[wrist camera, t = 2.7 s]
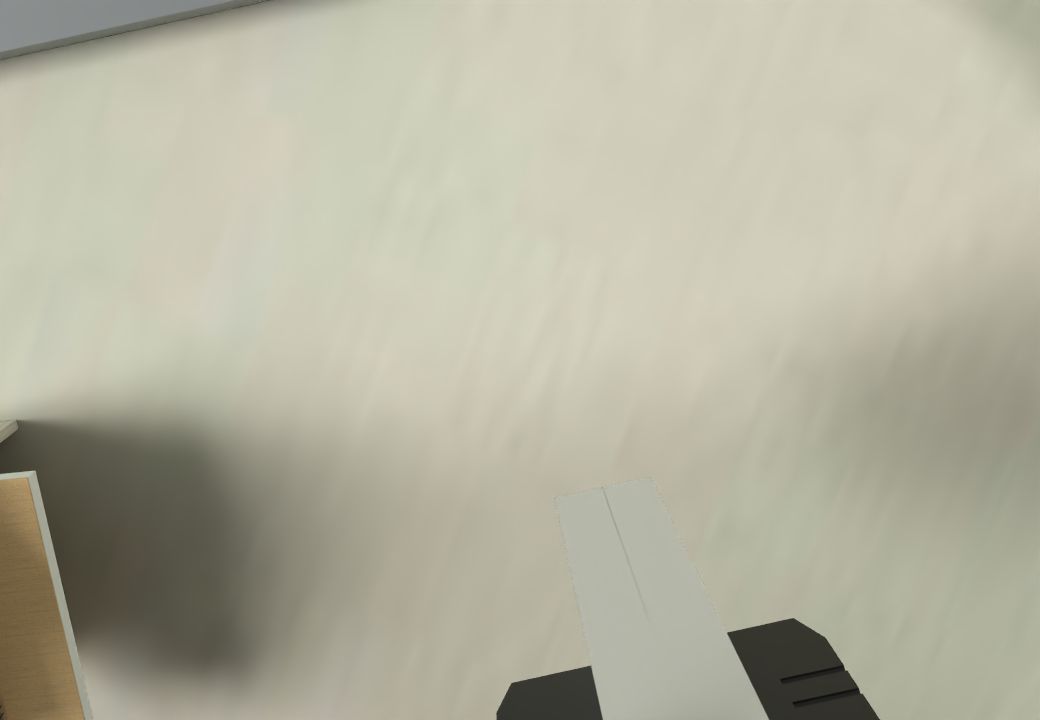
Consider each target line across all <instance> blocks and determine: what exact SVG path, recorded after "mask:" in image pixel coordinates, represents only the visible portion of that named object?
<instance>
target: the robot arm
mask: <svg viewBox="0 0 1040 720" xmlns="http://www.w3.org/2000/svg"><path fill="white" fill-rule="evenodd" d="M554 500H555V504H556V509H557V514H558V518H559V523H560V527H561V532H562V536H563V541H564V545H565V550H566V554H567V559H568V563H569V568H570V572H571V577H572V581H573V586H574V591H575V595H576V600H577V604H578V609H579V613H580V618H581V622H582V627H583V631H584V636H585V640H586V645H587V649H588V654H589V659H590V663H591V666H587V667H583V668H578V669H574V670H569V671H564V672H560V673H555V674H551V675H546V676H542V677H537V678H533V679H528V680H523V681H519V682H514V683H511V685H510V687H509V689H508V691H507V693H506V695H505V697H504V699H503V701H502V703H501V705H500V707H499V709H498V711H497V713H496V715H497V720H880V719H879V718H878V716H877V715H876V713H875V712H874V710H873V709H872V707H871V706H870V704H869V703H868V701H867V700H866V698H865V697H864V695H863V694H860V691H859V688H858V686H857V685H856V683H855V682H854V680H853V679H852V677H851V676H850V674H849V673H848V671H845V669H844V665H843V663H842V662H841V660H840V659H839V657H838V656H837V654H836V653H835V651H834V650H833V648H832V647H831V645H830V644H829V642H828V641H827V639H826V638H825V637H823V636H822V635H820V634H818V633H817V632H815V631H814V630H812V629H810V628H809V627H807V626H805V625H804V624H802V623H800V622H799V621H797V620H796V619H794V618H792V619H787V620H783V621H778V622H774V623H769V624H765V625H760V626H755V627H751V628H746V629H742V630H737V631H733V632H728V633H727V632H726V630H725V628H724V626H723V624H722V622H721V620H720V618H719V616H718V614H717V612H716V610H715V608H714V606H713V603H712V601H711V599H710V597H709V595H708V593H707V591H706V589H705V587H704V585H703V583H702V581H701V579H700V577H699V575H698V573H697V571H696V568H695V566H694V564H693V562H692V560H691V558H690V556H689V554H688V552H687V550H686V548H685V546H684V544H683V542H682V540H681V538H680V536H679V534H678V531H677V529H676V527H675V525H674V523H673V521H672V519H671V517H670V515H669V513H668V511H667V509H666V507H665V505H664V503H663V501H662V499H661V497H660V494H659V492H658V490H657V488H656V486H655V484H654V482H653V480H652V478H651V477H646V478H642V479H637V480H633V481H628V482H624V483H619V484H615V485H610V486H606V487H601V488H597V489H592V490H587V491H583V492H578V493H574V494H569V495H565V496H560V497H556V498H554Z"/></svg>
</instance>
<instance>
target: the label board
mask: <svg viewBox="0 0 1040 720" xmlns="http://www.w3.org/2000/svg"><path fill="white" fill-rule="evenodd" d="M264 1H269V0H0V60H1V59H6V58H11V57H15V56H20V55H24V54H29V53H33V52H38V51H42V50H47V49H51V48H56V47H60V46H65V45H69V44H74V43H79V42H83V41H88V40H92V39H97V38H101V37H106V36H110V35H115V34H119V33H124V32H128V31H133V30H137V29H142V28H147V27H151V26H156V25H160V24H165V23H169V22H174V21H178V20H183V19H187V18H192V17H196V16H201V15H205V14H210V13H214V12H219V11H224V10H228V9H233V8H237V7H242V6H246V5H251V4H255V3H260V2H264Z"/></svg>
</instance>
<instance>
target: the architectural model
mask: <svg viewBox="0 0 1040 720" xmlns="http://www.w3.org/2000/svg"><path fill="white" fill-rule="evenodd" d="M16 430H18V426H17V421H16V420H9V421H0V443H1V442H2V441H3V440H4V439H6V438H7V437H8V436H10V435H11V434H12V433H14V432H15V431H16ZM0 720H93V716H92V711H91V707H90V703H89V698H88V694H87V690H86V686H85V681H84V677H83V673H82V668H81V664H80V660H79V655H78V651H77V647H76V643H75V638H74V634H73V630H72V625H71V621H70V617H69V613H68V608H67V604H66V600H65V595H64V591H63V587H62V583H61V578H60V574H59V570H58V565H57V561H56V557H55V553H54V548H53V544H52V540H51V535H50V531H49V527H48V523H47V518H46V514H45V510H44V505H43V501H42V497H41V493H40V488H39V484H38V480H37V475H36V471H26V472H16V473H6V474H0Z"/></svg>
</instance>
